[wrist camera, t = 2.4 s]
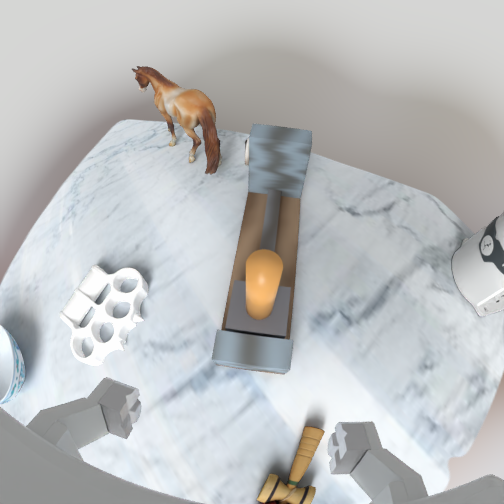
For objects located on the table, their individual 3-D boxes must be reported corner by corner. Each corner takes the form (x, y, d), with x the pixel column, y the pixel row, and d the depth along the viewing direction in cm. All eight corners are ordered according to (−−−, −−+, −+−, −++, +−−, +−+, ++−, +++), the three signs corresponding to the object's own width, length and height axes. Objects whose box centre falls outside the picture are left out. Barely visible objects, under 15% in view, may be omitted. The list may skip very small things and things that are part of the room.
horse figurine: (146, 133, 67) (130, 67, 49) (171, 121, 70) (159, 55, 52) (212, 195, 55) (202, 106, 37) (242, 177, 58) (242, 90, 40)
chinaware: (22, 425, 29) (-5, 422, 23) (-14, 373, 33) (-38, 364, 26) (51, 367, 36) (25, 357, 30) (13, 320, 39) (-10, 306, 33)
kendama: (280, 420, 36) (235, 520, 25) (297, 420, 31) (245, 535, 20) (324, 434, 36) (284, 530, 25) (346, 434, 31) (300, 543, 20)
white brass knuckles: (109, 256, 48) (168, 294, 45) (56, 332, 40) (110, 382, 36) (102, 247, 45) (162, 285, 42) (45, 326, 37) (100, 380, 34)
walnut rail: (299, 187, 57) (311, 129, 44) (284, 374, 38) (303, 358, 26) (247, 180, 57) (248, 121, 45) (210, 363, 39) (192, 342, 26)
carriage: (288, 294, 41) (306, 240, 29) (283, 339, 38) (303, 304, 25) (234, 287, 42) (230, 230, 29) (226, 332, 38) (216, 292, 26)
